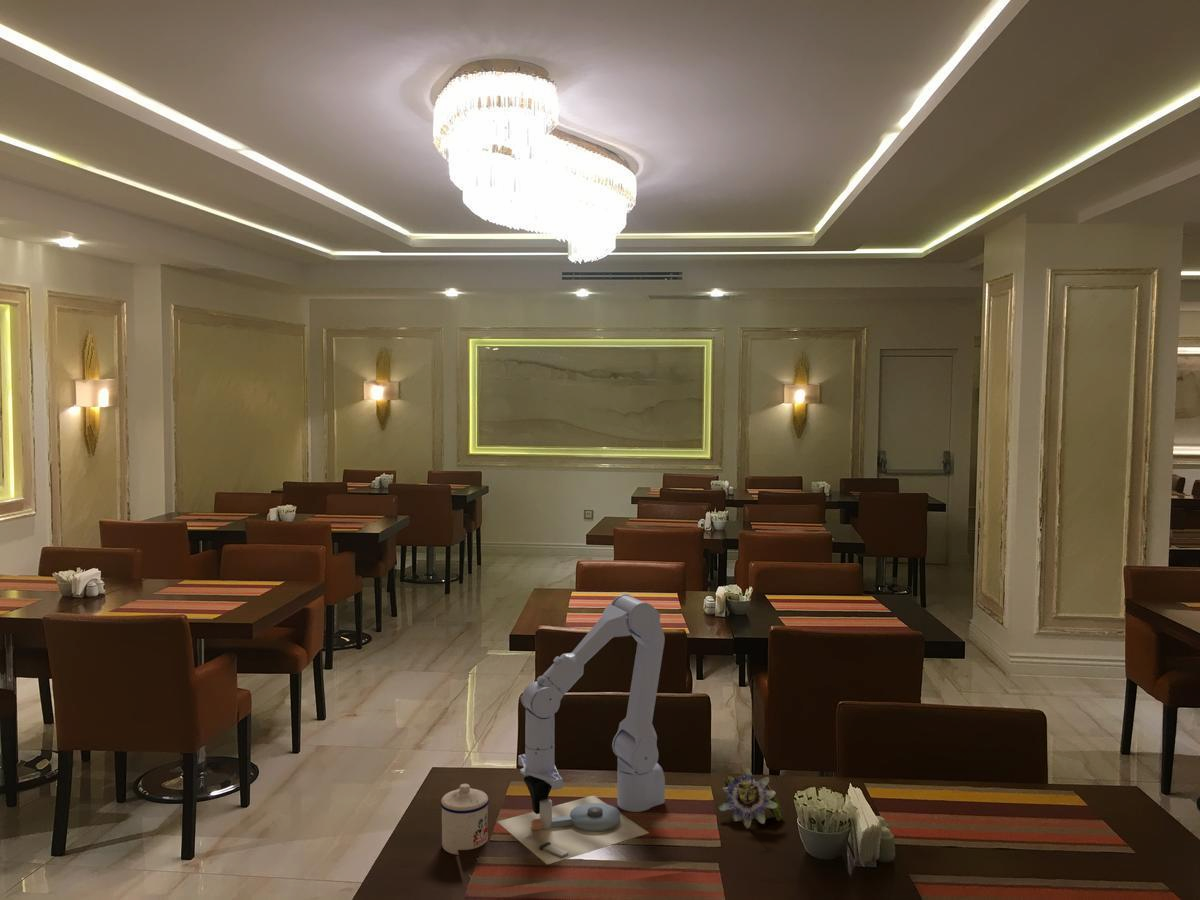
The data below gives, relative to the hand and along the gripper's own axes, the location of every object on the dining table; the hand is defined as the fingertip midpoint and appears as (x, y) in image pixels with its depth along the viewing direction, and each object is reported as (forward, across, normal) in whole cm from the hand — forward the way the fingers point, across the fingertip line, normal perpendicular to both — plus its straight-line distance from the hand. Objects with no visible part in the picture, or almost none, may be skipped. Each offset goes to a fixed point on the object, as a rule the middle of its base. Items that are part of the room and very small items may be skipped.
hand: (539, 812), depth 187 cm
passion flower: (+3, +19, +38) cm, 42 cm away
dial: (+2, +4, +6) cm, 7 cm away
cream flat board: (+3, +5, +5) cm, 7 cm away
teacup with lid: (+4, -3, -14) cm, 15 cm away
